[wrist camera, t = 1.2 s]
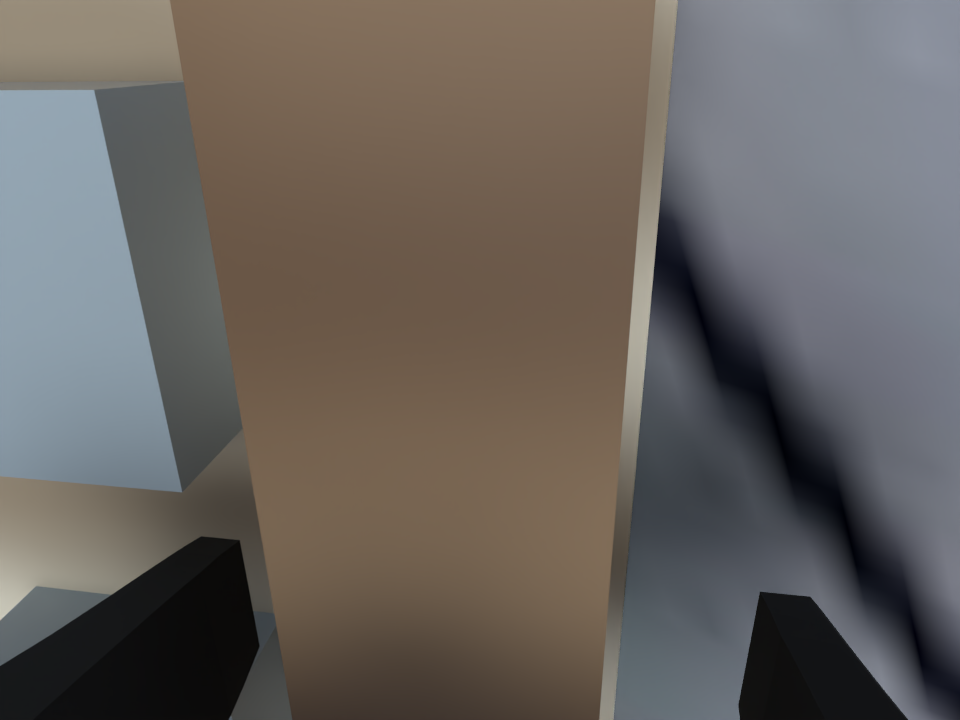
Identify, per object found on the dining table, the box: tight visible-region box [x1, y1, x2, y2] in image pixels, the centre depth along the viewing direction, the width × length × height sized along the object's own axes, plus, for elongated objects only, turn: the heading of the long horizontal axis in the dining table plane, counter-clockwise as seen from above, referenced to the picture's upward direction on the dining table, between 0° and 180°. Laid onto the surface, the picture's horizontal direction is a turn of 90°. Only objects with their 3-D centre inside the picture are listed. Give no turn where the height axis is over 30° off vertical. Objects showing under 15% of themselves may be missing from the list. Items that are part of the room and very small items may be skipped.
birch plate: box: [0, 0, 678, 720], centre depth 13 cm, size 20×13×3 cm, turn 1°
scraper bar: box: [170, 0, 656, 720], centre depth 9 cm, size 16×3×4 cm, turn 1°
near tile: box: [0, 81, 243, 492], centre depth 10 cm, size 5×5×2 cm
